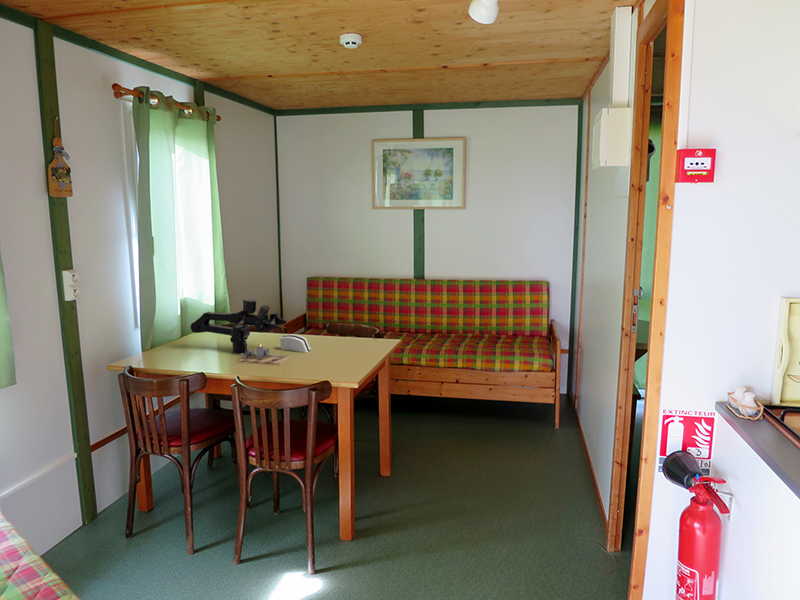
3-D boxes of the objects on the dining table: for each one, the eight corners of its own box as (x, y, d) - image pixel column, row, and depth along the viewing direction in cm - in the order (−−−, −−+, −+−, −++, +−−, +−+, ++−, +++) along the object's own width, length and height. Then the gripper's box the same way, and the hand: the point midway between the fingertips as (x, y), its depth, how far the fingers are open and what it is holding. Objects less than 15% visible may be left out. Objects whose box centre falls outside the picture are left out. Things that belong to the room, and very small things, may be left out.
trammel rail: (241, 358, 281) (241, 353, 280) (249, 354, 288) (248, 349, 288) (279, 361, 276) (279, 356, 276) (286, 356, 284) (286, 351, 284)
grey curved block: (312, 350, 302) (307, 334, 298) (307, 355, 299) (303, 339, 294) (286, 347, 309) (282, 331, 305) (281, 351, 306) (277, 336, 301)
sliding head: (255, 359, 279) (255, 345, 278) (263, 355, 287) (262, 341, 286) (262, 359, 278) (261, 345, 277) (269, 355, 286) (269, 341, 285)
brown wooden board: (237, 362, 278) (237, 359, 278) (251, 355, 292) (251, 352, 291) (279, 365, 274) (279, 362, 273) (290, 357, 287) (290, 355, 287)
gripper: (245, 309, 282) (274, 313, 279) (264, 301, 300) (290, 305, 296) (245, 330, 285) (273, 335, 281) (263, 321, 303) (290, 325, 299)
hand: (282, 324), depth 289 cm, fingers open, 9 cm apart
